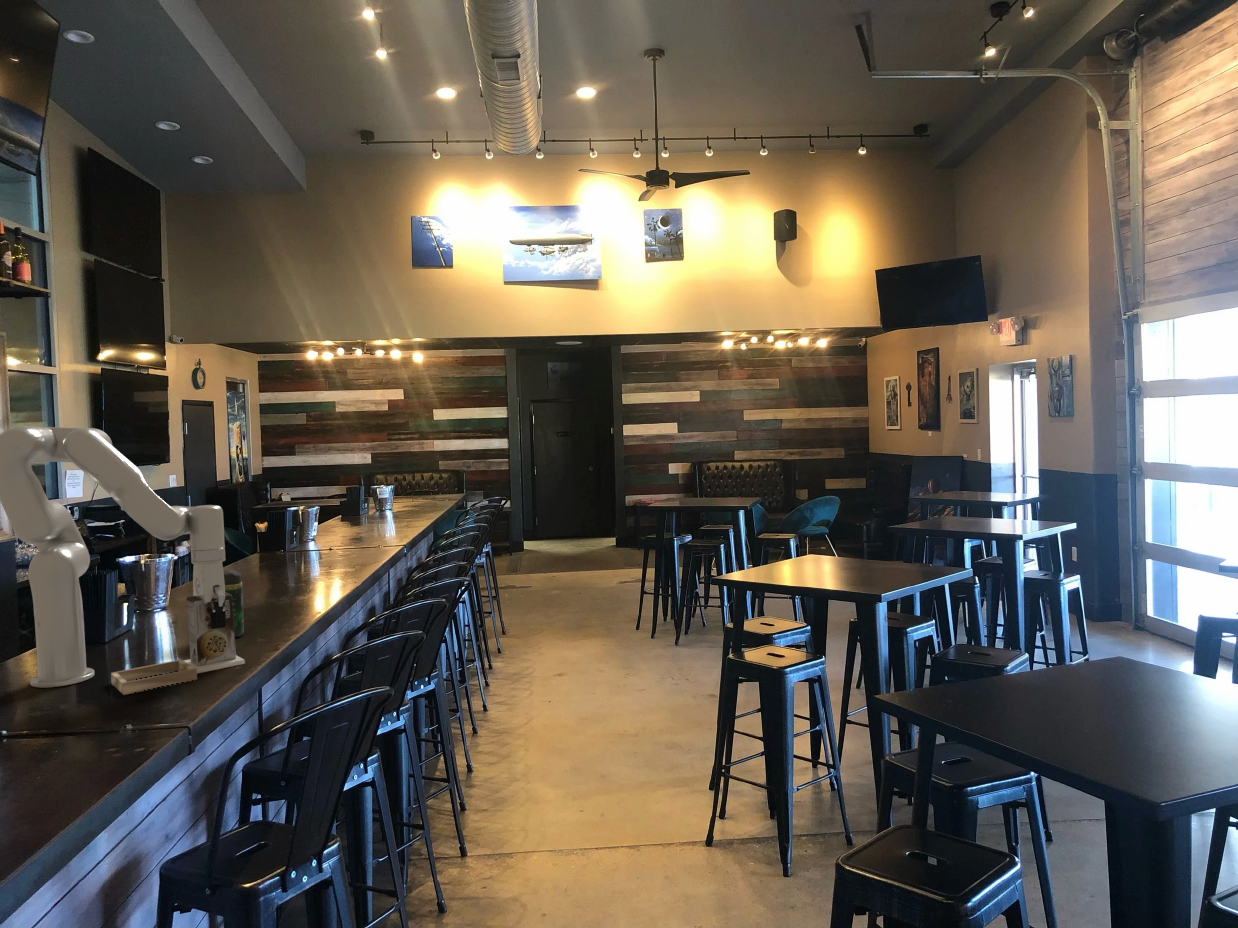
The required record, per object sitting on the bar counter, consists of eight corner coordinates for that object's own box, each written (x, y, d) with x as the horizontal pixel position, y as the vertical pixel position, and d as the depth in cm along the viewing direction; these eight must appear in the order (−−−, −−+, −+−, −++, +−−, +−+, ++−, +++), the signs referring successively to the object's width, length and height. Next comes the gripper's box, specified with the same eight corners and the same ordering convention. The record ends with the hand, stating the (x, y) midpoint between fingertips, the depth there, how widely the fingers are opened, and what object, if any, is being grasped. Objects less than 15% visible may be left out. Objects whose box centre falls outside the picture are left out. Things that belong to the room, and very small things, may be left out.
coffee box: (228, 653, 215) (224, 590, 214) (236, 658, 210) (233, 594, 209) (189, 661, 208) (185, 596, 208) (197, 666, 204) (193, 600, 203)
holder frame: (111, 683, 195) (110, 672, 195) (182, 669, 205) (181, 659, 205) (123, 694, 186) (123, 683, 186) (197, 679, 196) (196, 668, 196)
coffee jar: (243, 637, 235) (240, 571, 234) (212, 641, 232) (208, 574, 232) (245, 630, 244) (242, 566, 243) (215, 633, 241) (211, 568, 241)
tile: (183, 664, 210) (183, 660, 210) (229, 655, 217) (229, 651, 217) (196, 673, 201) (196, 669, 201) (244, 663, 209) (244, 659, 209)
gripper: (181, 554, 212) (185, 622, 213) (202, 561, 199) (206, 633, 200) (213, 550, 217) (216, 616, 218) (236, 557, 204) (239, 627, 205)
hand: (211, 624), depth 209 cm, fingers open, 9 cm apart
